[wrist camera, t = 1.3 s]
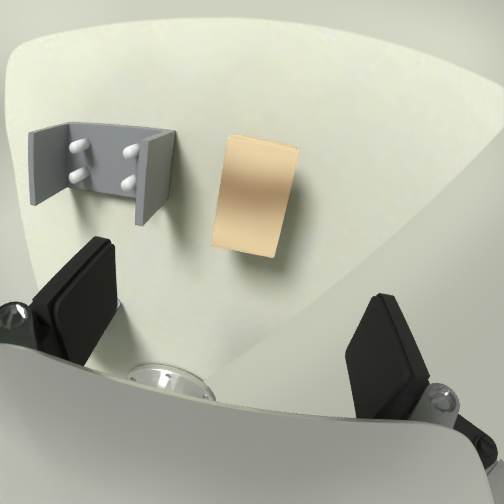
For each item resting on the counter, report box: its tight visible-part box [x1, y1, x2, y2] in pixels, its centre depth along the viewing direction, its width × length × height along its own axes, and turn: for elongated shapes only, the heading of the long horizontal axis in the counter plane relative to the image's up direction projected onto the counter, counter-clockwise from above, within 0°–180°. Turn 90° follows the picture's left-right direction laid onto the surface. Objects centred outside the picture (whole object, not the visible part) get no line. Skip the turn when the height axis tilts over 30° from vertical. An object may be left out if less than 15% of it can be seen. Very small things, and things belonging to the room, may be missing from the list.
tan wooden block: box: [211, 134, 299, 258], centre depth 22 cm, size 8×4×2 cm, turn 169°
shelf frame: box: [28, 122, 176, 226], centre depth 23 cm, size 6×11×6 cm, turn 79°
